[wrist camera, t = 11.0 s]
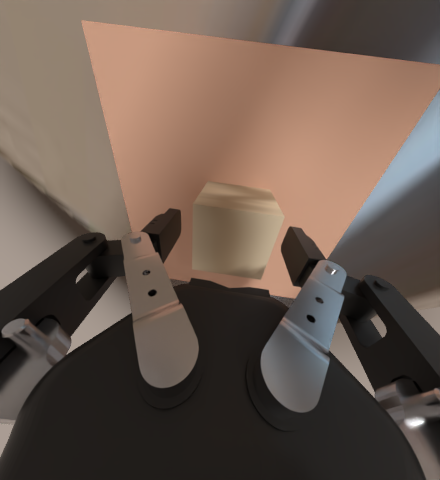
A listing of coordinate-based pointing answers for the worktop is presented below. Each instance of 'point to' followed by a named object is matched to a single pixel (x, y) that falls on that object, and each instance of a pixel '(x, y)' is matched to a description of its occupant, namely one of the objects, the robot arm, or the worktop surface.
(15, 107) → the worktop surface
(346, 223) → the terracotta platform
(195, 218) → the maple block
